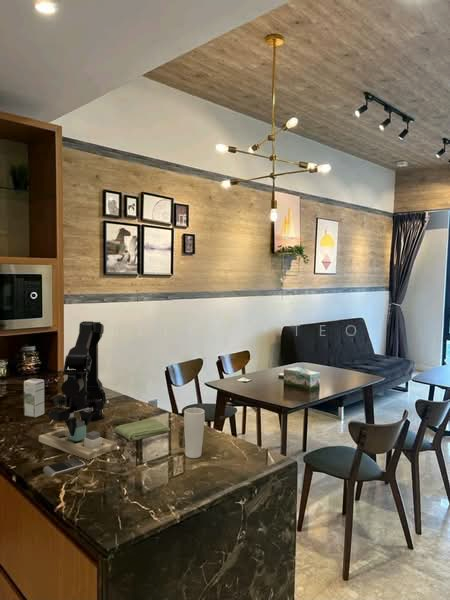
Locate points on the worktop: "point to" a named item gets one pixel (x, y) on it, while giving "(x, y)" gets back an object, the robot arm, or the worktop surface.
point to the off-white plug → (92, 440)
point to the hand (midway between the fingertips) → (77, 434)
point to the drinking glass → (193, 431)
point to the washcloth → (141, 429)
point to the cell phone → (63, 467)
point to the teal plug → (79, 431)
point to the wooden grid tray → (72, 448)
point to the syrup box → (33, 397)
